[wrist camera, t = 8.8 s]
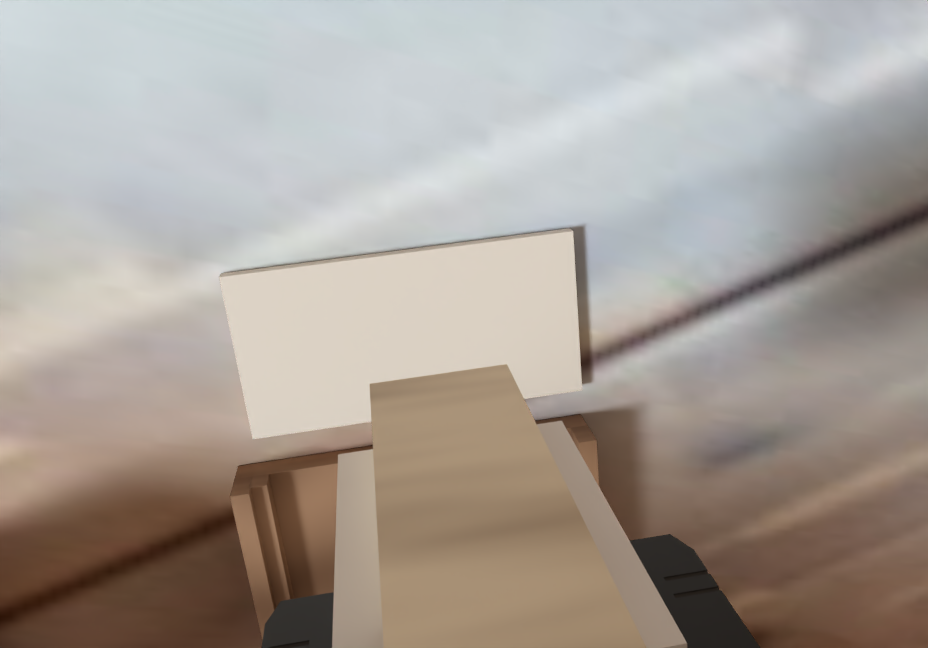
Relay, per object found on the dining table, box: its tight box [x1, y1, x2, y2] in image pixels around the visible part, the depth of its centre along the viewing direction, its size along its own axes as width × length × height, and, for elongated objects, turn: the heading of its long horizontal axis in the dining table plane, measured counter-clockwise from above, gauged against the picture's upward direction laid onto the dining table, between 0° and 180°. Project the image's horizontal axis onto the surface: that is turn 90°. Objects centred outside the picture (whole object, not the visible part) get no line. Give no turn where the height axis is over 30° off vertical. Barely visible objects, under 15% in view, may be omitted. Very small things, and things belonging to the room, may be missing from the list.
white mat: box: [219, 228, 582, 439], centre depth 36 cm, size 8×15×1 cm, turn 96°
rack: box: [230, 414, 599, 641], centre depth 39 cm, size 13×16×3 cm
